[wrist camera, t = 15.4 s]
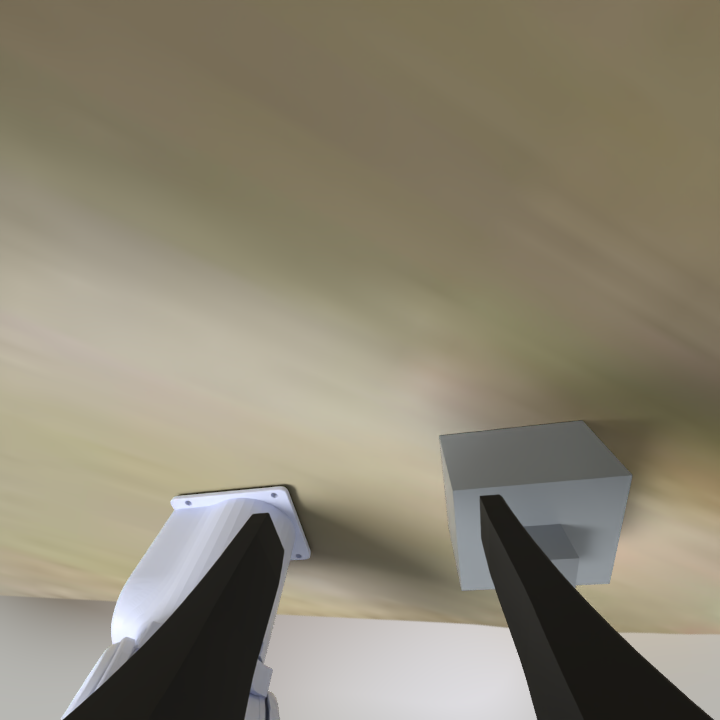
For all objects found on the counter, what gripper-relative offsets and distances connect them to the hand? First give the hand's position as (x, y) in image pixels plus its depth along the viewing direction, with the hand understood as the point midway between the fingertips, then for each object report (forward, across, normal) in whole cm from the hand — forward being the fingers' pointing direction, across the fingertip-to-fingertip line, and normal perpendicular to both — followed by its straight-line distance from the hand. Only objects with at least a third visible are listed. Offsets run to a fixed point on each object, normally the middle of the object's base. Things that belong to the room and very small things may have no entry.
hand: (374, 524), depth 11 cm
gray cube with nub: (+10, -8, +9) cm, 16 cm away
